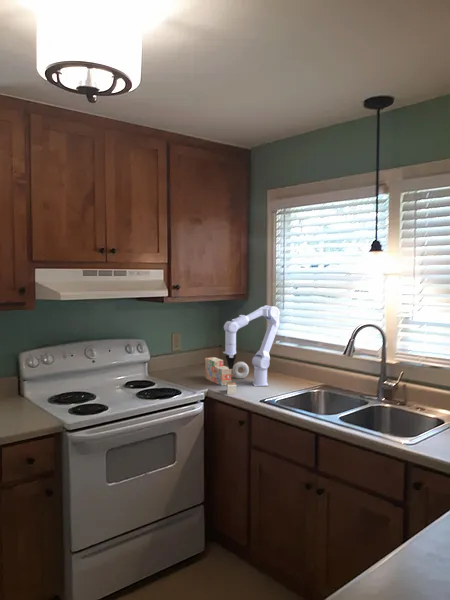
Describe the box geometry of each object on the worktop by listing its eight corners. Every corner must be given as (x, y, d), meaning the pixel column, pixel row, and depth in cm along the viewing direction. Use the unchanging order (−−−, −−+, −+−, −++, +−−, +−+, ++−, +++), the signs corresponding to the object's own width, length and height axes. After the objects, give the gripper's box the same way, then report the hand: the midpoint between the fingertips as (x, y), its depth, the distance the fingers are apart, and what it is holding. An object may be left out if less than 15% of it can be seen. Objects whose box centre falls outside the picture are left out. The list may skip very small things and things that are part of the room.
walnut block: (226, 382, 269) (227, 385, 262) (235, 381, 270) (236, 385, 262) (226, 390, 270) (227, 394, 262) (235, 390, 270) (236, 394, 262)
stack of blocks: (231, 385, 282) (231, 363, 281) (221, 386, 279) (221, 364, 278) (214, 377, 301) (214, 356, 300) (205, 378, 298) (205, 357, 297)
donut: (232, 379, 295) (232, 362, 294) (231, 378, 298) (231, 361, 297) (249, 378, 297) (249, 361, 296) (248, 377, 300) (248, 360, 299)
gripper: (222, 341, 280) (222, 366, 281) (223, 345, 266) (223, 371, 267) (235, 341, 281) (235, 366, 282) (237, 345, 266) (237, 371, 267)
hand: (230, 368), depth 274 cm, fingers closed
